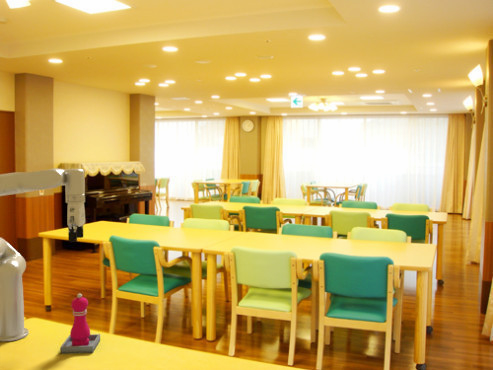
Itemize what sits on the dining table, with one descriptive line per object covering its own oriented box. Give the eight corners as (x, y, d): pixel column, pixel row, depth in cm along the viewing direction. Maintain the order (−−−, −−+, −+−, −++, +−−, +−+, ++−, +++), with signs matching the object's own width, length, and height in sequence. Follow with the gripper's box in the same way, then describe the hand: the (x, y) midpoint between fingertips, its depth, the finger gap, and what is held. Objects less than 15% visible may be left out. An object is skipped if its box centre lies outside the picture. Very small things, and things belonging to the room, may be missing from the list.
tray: (60, 353, 175) (60, 347, 175) (69, 341, 187) (69, 335, 187) (93, 352, 176) (92, 346, 176) (100, 340, 188) (100, 334, 188)
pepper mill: (81, 339, 186) (80, 289, 185) (94, 343, 183) (93, 292, 181) (66, 345, 180) (65, 294, 179) (79, 350, 176) (78, 297, 175)
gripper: (78, 200, 187) (79, 243, 188) (89, 196, 204) (90, 236, 205) (59, 200, 186) (60, 243, 187) (72, 196, 204) (72, 236, 205)
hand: (76, 239), depth 196 cm, fingers open, 9 cm apart
